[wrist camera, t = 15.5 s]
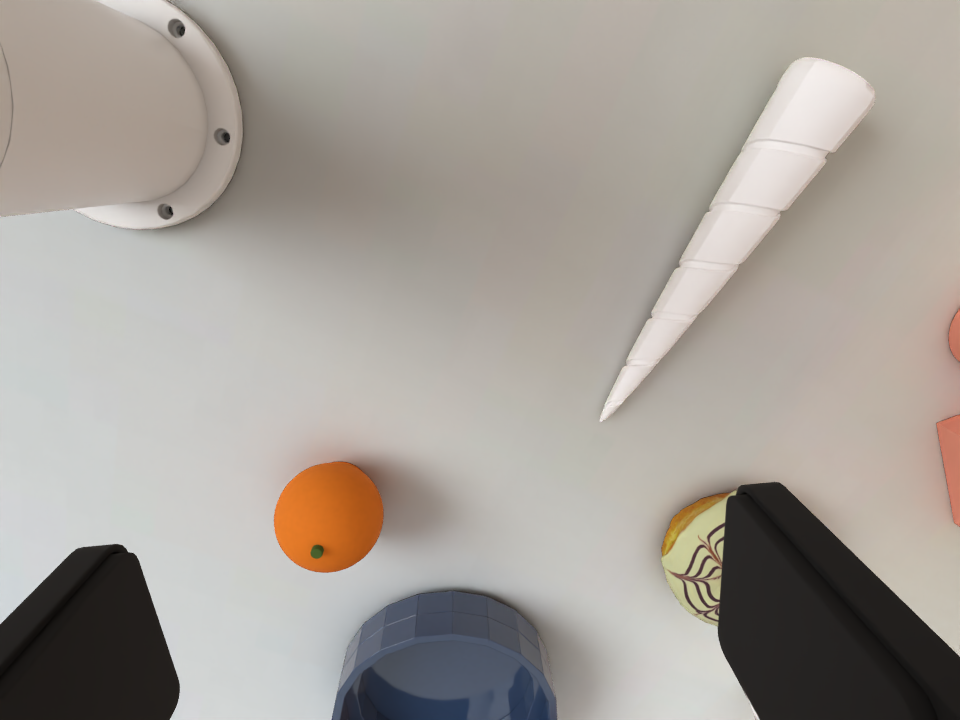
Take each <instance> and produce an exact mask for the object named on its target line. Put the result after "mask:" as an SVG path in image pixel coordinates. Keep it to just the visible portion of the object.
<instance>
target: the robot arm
mask: <svg viewBox="0 0 960 720" xmlns="http://www.w3.org/2000/svg"><path fill="white" fill-rule="evenodd" d="M182 27H185V33H184V35H183V36H181V34H180V30H181V28H182ZM226 133H229V135H230V141H229V142H226V141H225V139H224V135H225V134H226ZM242 138H243V125H242V110H241V106H240V101H239V97H238V92H237V88H236V86H235V83H234V81H233V78H232V76H231V73H230V71H229V68H228V66H227V64H226V63H225V61H224V59H223V58H222V56H221V54H220V53H219V51H218V49H217V48H216V46H215V44H214V43H213V42H212V41H211V40H210V38H209V37H208V36H207V35H206V34H205V33H204V31H203V30H202V29H201V28H200V27H199V25H198V24H197V23H195V22H194V21H193V20H192V19H191V18H189V17H188V16H187V15H186V14H185V13H184V12H182V11H181V10H180V9H179V8H178V7H176V6H174V5H173V4H171V3H169V2H168V1H166V0H0V217H6V216H15V215H24V214H33V213H42V212H51V211H60V210H69V209H73V210H75V211H76V212H78V213H80V214H82V215H84V216H86V217H88V218H90V219H92V220H95V221H98V222H101V223H104V224H107V225H110V226H114V227H119V228H127V229H134V230H143V229H158V228H163V227H168V226H173V225H176V224H179V223H181V222H184V221H187V220H189V219H192V218H194V217H195V216H197V215H198V214H200V213H201V212H203V211H204V210H206V209H207V208H209V207H210V206H211V205H212V204H213V203H214V202H215V201H216V200H217V199H218V198H219V196H220V195H221V194H222V193H223V192H224V190H225V188H226V187H227V185H228V184H229V182H230V180H231V179H232V177H233V175H234V172H235V169H236V166H237V163H238V161H239V158H240V152H241V145H242ZM169 207H171V208H172V209H173V215H172V214H171V213H170V212H169ZM718 637H719V642H720V645H721V648H722V651H723V653H724V655H725V657H726V659H727V661H728V663H729V665H730V666H731V668H732V670H733V672H734V674H735V676H736V677H737V679H738V681H739V683H740V685H741V686H742V688H743V690H744V692H745V694H746V696H747V697H748V699H749V701H750V703H751V705H752V706H753V708H754V710H755V712H756V714H757V716H758V717H759V719H760V720H960V657H959V656H958V655H957V654H956V653H955V652H954V651H953V650H952V649H951V648H950V647H949V646H948V645H947V644H946V643H945V642H944V641H943V640H942V639H941V638H940V637H939V636H938V635H937V634H936V633H935V632H934V631H933V630H932V629H931V628H930V627H929V626H928V625H927V624H926V623H925V622H924V621H922V620H921V619H920V618H919V617H918V616H917V615H916V614H915V613H914V612H913V611H912V610H911V609H910V608H909V607H908V606H907V605H906V604H905V603H904V602H903V601H902V600H901V599H900V598H899V597H898V596H897V595H896V594H895V593H894V592H893V591H892V590H891V589H890V588H889V587H888V586H886V585H885V584H884V583H883V582H882V581H881V580H880V579H879V578H878V577H877V576H876V575H875V574H874V573H873V572H872V571H871V570H870V569H869V568H868V567H867V566H866V565H865V564H864V563H863V562H862V561H861V560H860V559H859V558H858V557H857V556H856V555H855V554H854V553H853V552H852V551H850V550H849V549H848V548H847V547H846V546H845V545H844V544H843V543H842V542H841V541H840V540H839V539H838V538H837V537H836V536H835V535H834V534H833V533H832V532H831V531H830V530H829V529H828V528H827V527H826V526H825V525H824V524H823V523H822V522H821V521H820V520H819V519H818V518H817V517H816V516H814V515H813V514H812V513H811V512H810V511H809V510H808V509H807V508H806V507H805V506H804V505H803V504H802V503H801V502H800V501H799V500H798V499H797V498H796V497H795V496H794V495H793V494H792V493H791V492H790V491H789V490H788V489H787V488H786V487H785V486H783V485H782V484H781V483H778V482H771V483H760V484H750V485H741V486H740V487H739V488H738V490H737V492H736V495H733V496H729V497H728V499H727V503H726V514H725V528H724V543H723V558H722V573H721V588H720V602H719V617H718ZM179 692H180V684H179V680H178V677H177V674H176V671H175V668H174V665H173V662H172V659H171V656H170V653H169V650H168V647H167V644H166V641H165V638H164V635H163V632H162V629H161V626H160V623H159V620H158V617H157V614H156V611H155V608H154V605H153V602H152V599H151V596H150V593H149V590H148V587H147V584H146V581H145V578H144V575H143V572H142V569H141V566H140V563H139V560H138V558H137V556H136V555H135V554H134V553H130V552H129V553H128V551H127V549H126V548H125V547H124V546H122V545H119V544H112V545H102V546H91V547H82V548H78V549H76V550H75V551H74V552H72V553H71V554H70V555H69V556H68V557H67V558H66V559H65V560H64V561H63V562H62V563H61V564H60V565H59V566H58V567H57V568H56V569H55V570H54V571H53V572H52V573H51V574H50V575H49V576H48V577H47V578H46V579H45V580H44V581H43V582H42V583H41V584H40V585H39V586H38V587H37V588H36V589H35V590H34V591H33V592H32V593H31V594H30V595H29V596H28V597H27V598H26V599H25V600H24V601H23V602H22V603H21V604H20V605H19V606H18V607H17V608H16V609H15V610H14V611H13V612H12V613H11V614H10V615H9V616H8V617H7V618H6V619H5V620H4V621H3V622H2V623H1V624H0V720H170V718H171V716H172V714H173V712H174V710H175V708H176V706H177V703H178V699H179Z"/></svg>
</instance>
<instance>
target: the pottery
mask: <svg viewBox="0 0 960 720" xmlns="http://www.w3.org/2000/svg"><path fill="white" fill-rule="evenodd" d="M949 345H950V349H951V351H952V354H953V355H954V357H955V358H956V359H957V360H958V361H959V362H960V309H959V310H958V312H957V313H956V315H955V317H954V319H953V321H952V323H951V327H950V331H949ZM936 424H937V429H938V435H939V441H940V446H941V452H942V457H943V463H944V468H945V474H946V480H947V485H948V491H949V496H950V502H951V508H952V513H953V519H954V523H955V524H956V525H958V526H959V527H960V415H957V416H954V417H952V418H949V419H946V420H944V421H941V422H938V423H936Z"/></svg>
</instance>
